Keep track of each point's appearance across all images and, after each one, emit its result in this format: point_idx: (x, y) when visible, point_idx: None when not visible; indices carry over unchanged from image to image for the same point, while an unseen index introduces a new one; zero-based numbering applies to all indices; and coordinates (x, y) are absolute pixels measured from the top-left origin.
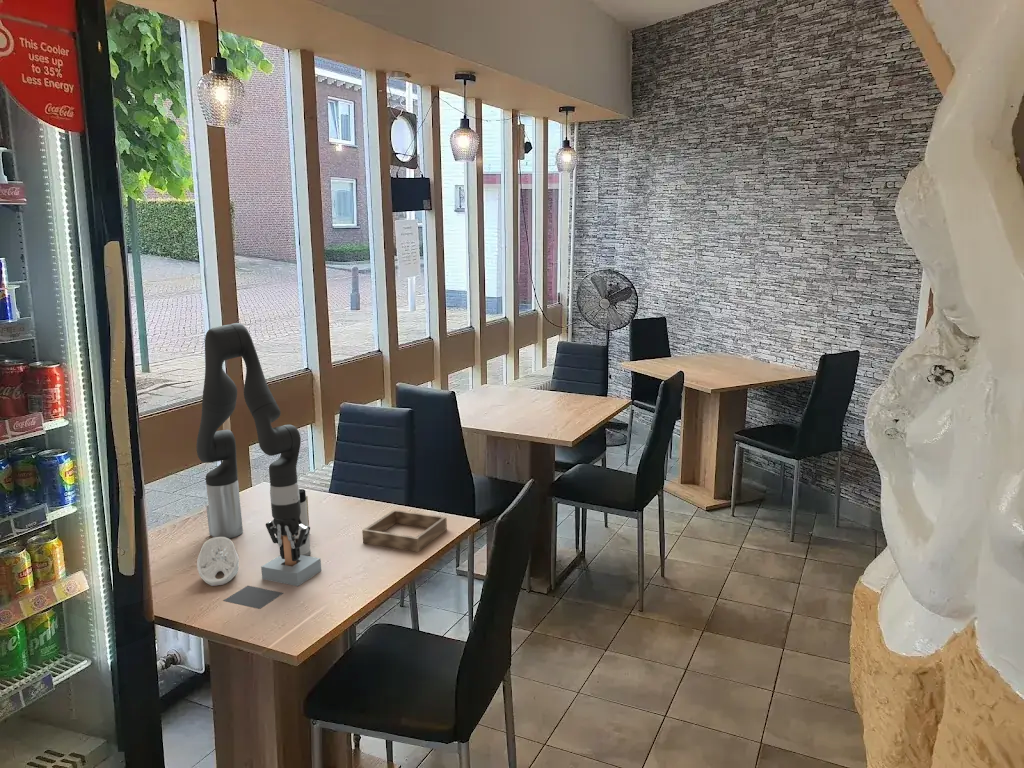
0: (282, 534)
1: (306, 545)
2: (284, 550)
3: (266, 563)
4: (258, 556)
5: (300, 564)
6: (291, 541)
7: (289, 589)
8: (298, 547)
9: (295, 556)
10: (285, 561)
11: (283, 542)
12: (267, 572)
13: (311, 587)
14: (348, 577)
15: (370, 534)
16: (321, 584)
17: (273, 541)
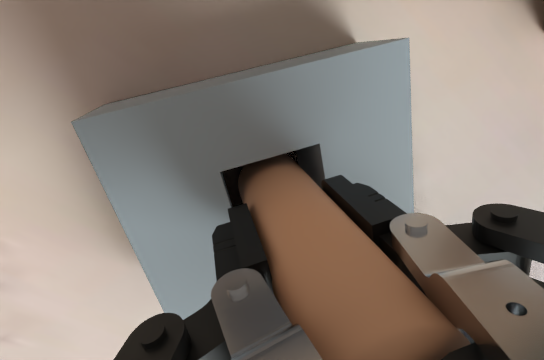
0: (480, 354)
1: None
2: (329, 212)
3: (410, 95)
4: (531, 189)
5: (200, 223)
6: (266, 334)
7: (124, 56)
8: (153, 317)
9: (226, 236)
10: (294, 172)
11: (380, 262)
12: (342, 51)
13: (41, 153)
14: (8, 331)
15: None
16: (35, 209)
17: (509, 209)
